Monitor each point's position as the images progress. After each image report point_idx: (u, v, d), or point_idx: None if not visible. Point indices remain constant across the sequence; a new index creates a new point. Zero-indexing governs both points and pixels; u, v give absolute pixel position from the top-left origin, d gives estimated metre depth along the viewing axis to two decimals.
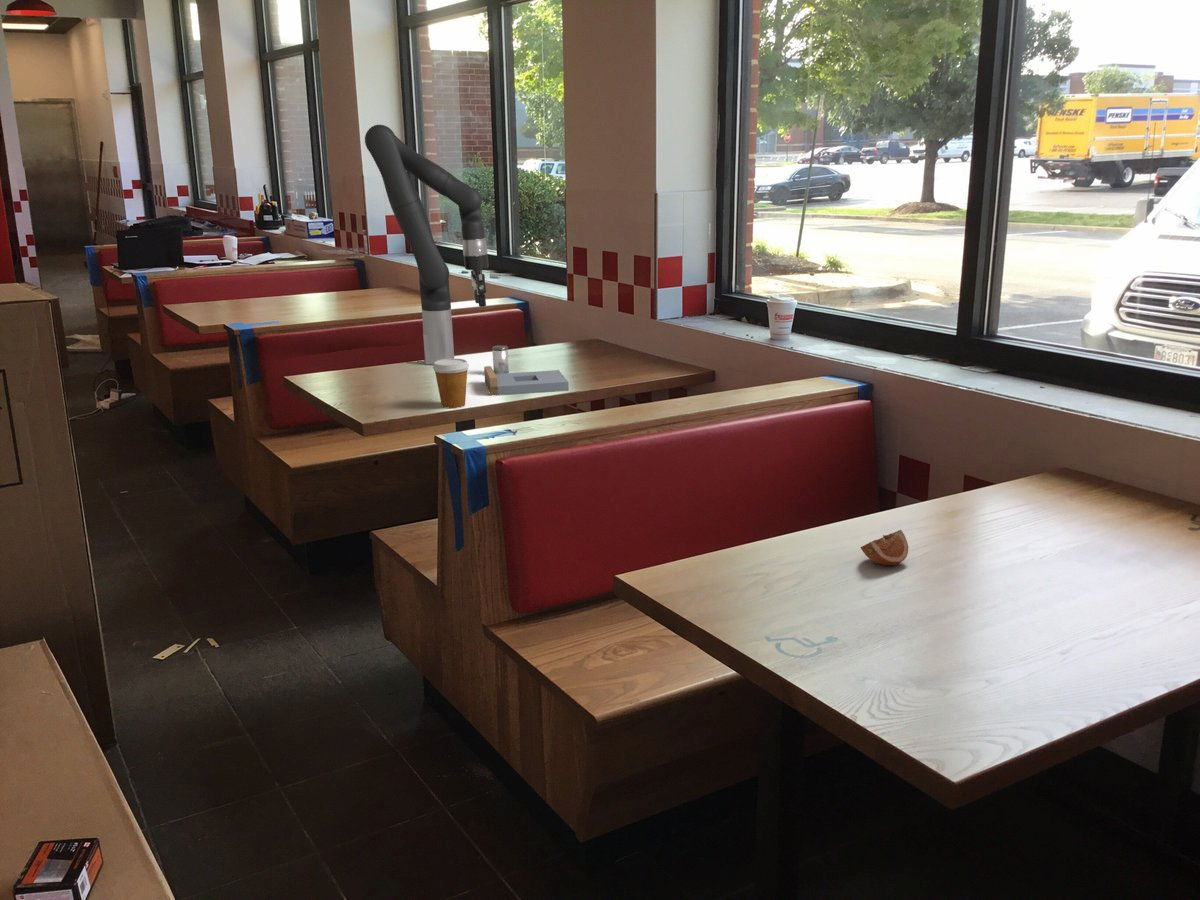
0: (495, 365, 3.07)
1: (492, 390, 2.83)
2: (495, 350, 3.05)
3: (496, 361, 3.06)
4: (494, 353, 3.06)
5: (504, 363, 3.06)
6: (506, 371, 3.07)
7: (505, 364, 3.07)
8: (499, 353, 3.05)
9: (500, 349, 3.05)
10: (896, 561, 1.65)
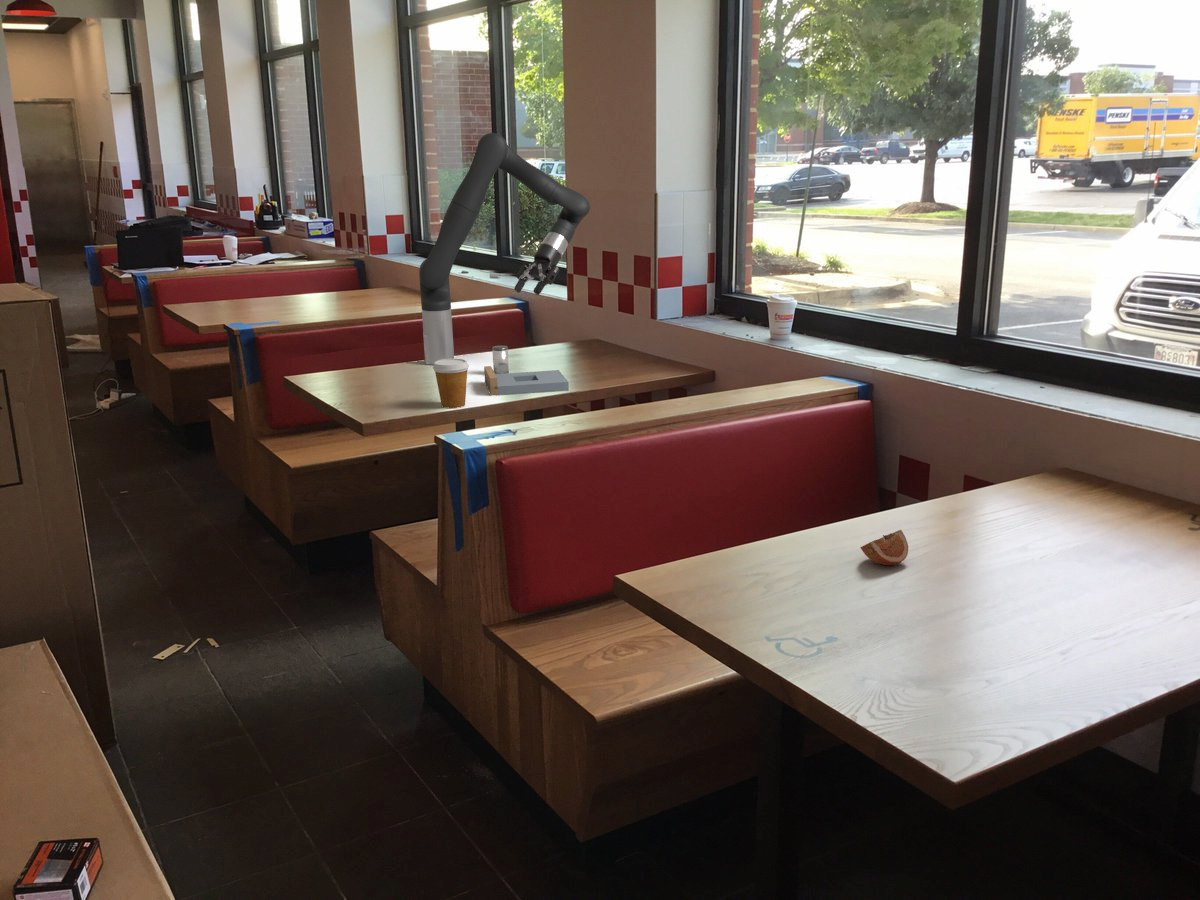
0: (495, 365, 3.07)
1: (492, 390, 2.83)
2: (495, 350, 3.05)
3: (496, 361, 3.06)
4: (494, 353, 3.06)
5: (504, 363, 3.06)
6: (506, 371, 3.07)
7: (505, 364, 3.07)
8: (499, 353, 3.05)
9: (500, 349, 3.05)
10: (896, 561, 1.65)
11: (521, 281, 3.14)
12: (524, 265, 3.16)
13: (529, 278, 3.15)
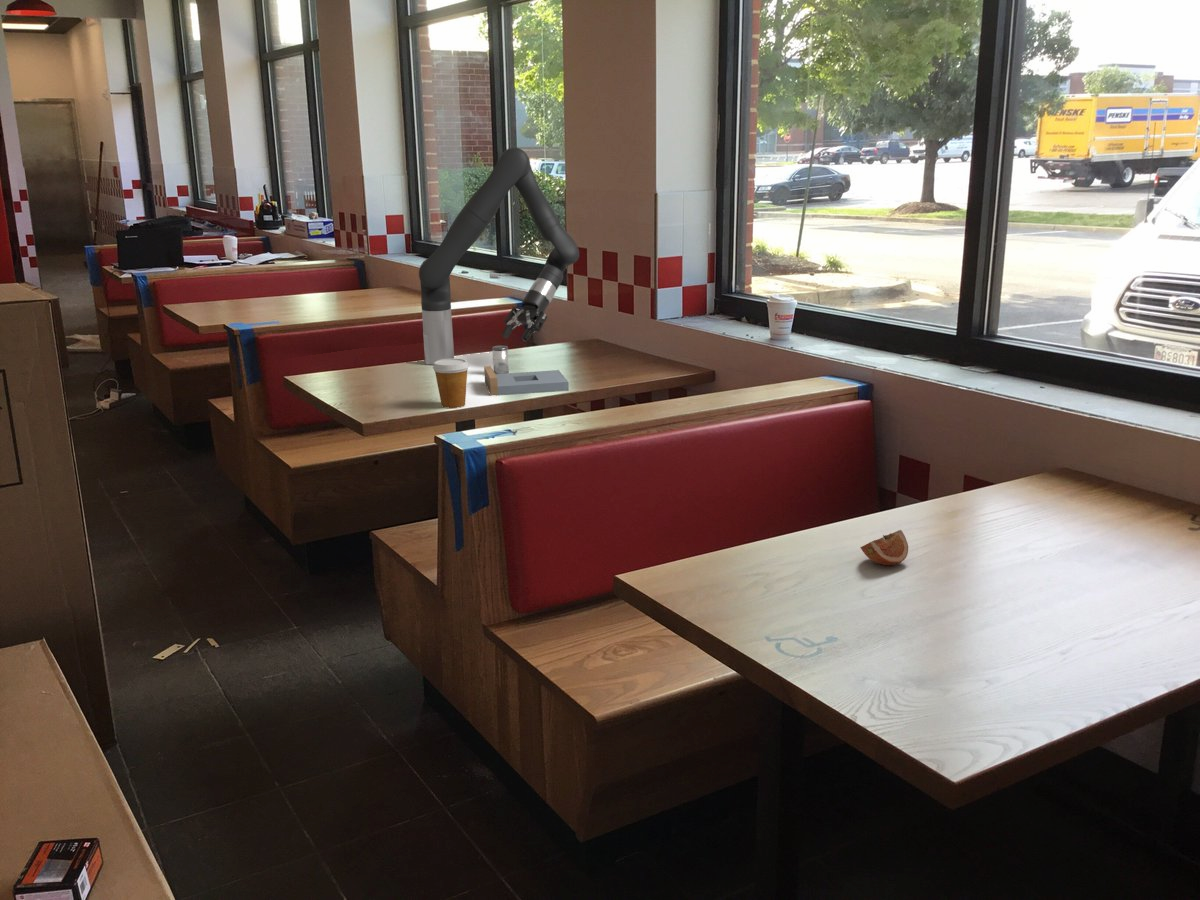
0: (495, 365, 3.07)
1: (492, 390, 2.83)
2: (495, 350, 3.05)
3: (496, 361, 3.06)
4: (494, 353, 3.06)
5: (504, 363, 3.06)
6: (506, 371, 3.07)
7: (505, 364, 3.07)
8: (499, 353, 3.05)
9: (500, 349, 3.05)
10: (896, 561, 1.65)
11: (509, 327, 3.13)
12: (512, 311, 3.16)
13: (517, 324, 3.14)
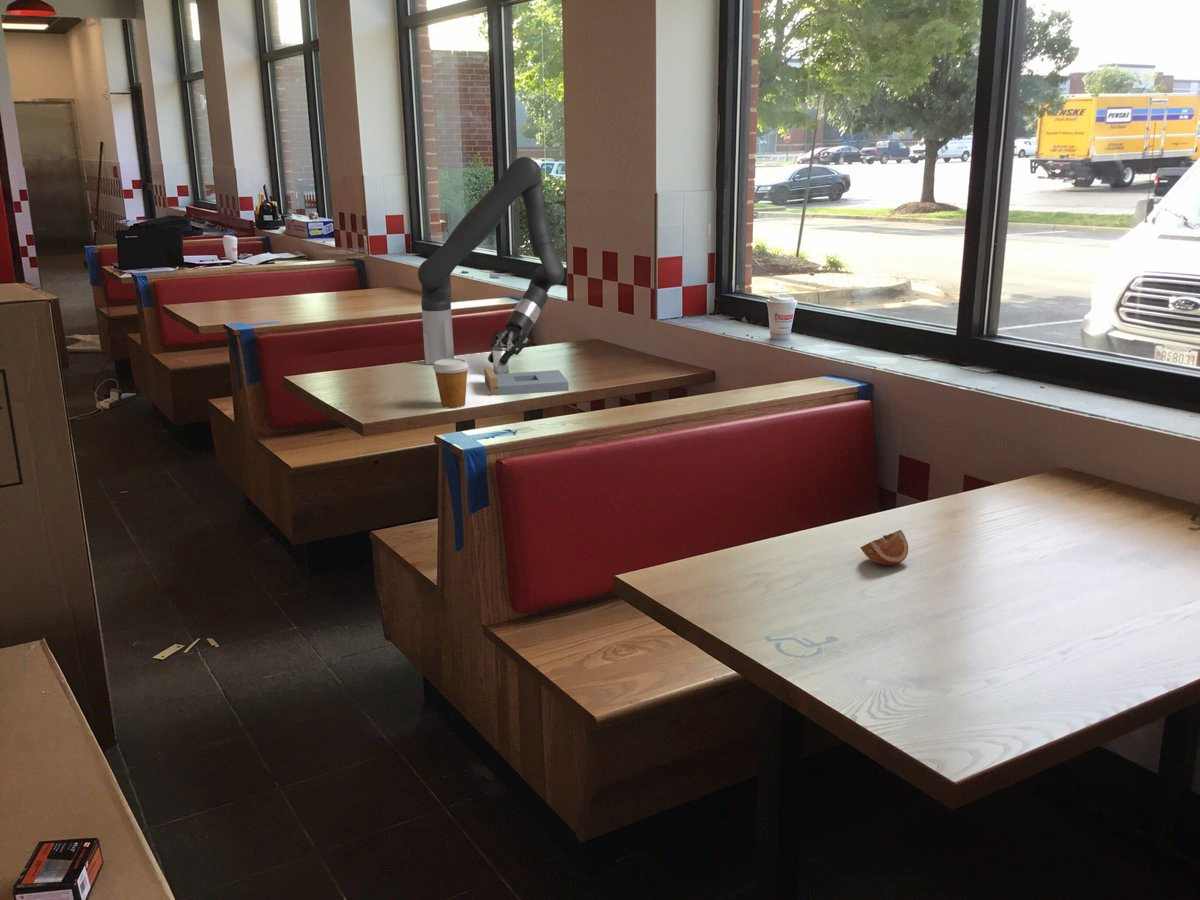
0: (495, 365, 3.07)
1: (492, 390, 2.83)
2: (495, 350, 3.05)
3: (496, 361, 3.06)
4: (494, 353, 3.06)
5: None
6: (506, 371, 3.07)
7: (505, 364, 3.07)
8: (499, 353, 3.05)
9: (500, 349, 3.05)
10: (896, 561, 1.65)
11: None
12: (495, 334, 3.12)
13: None
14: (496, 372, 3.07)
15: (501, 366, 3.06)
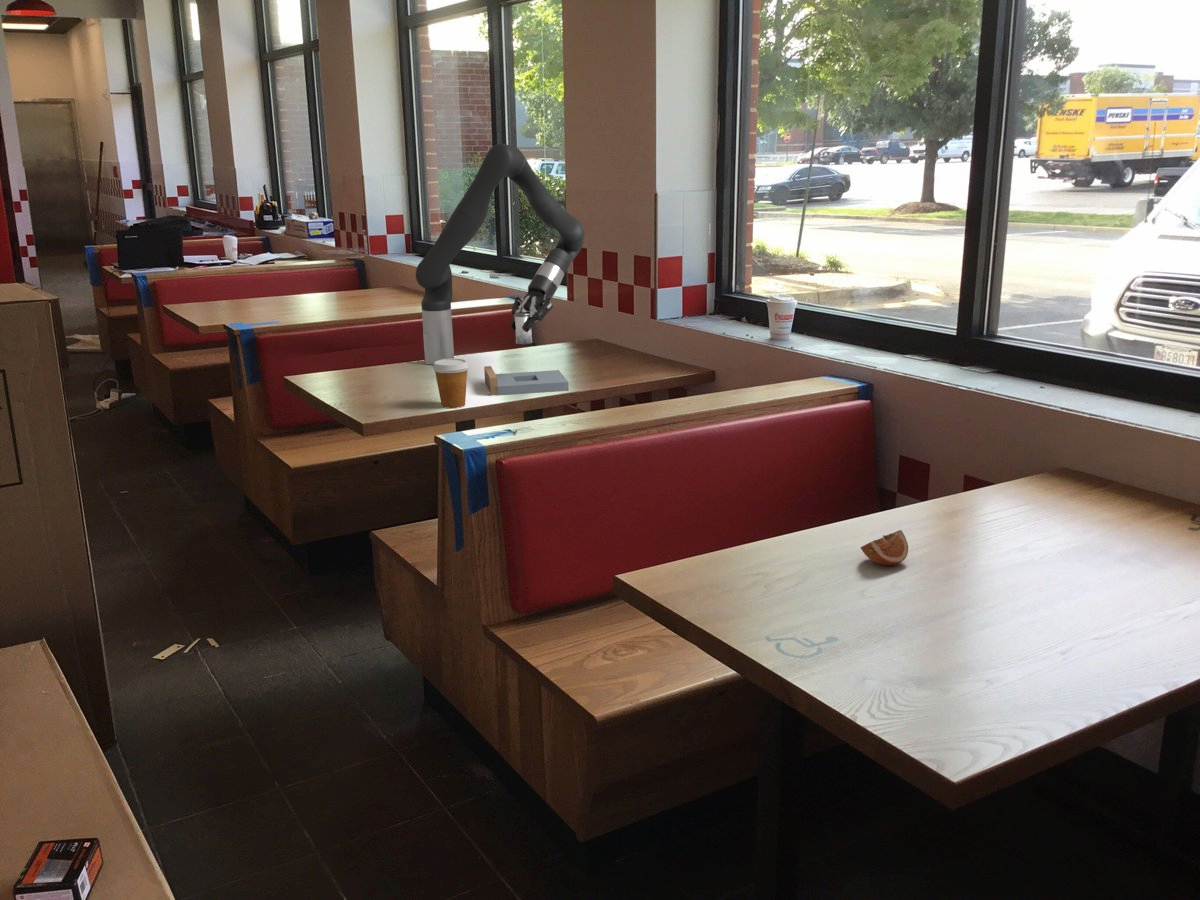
0: (518, 332, 2.89)
1: (492, 390, 2.83)
2: (517, 316, 2.88)
3: (519, 328, 2.89)
4: (516, 319, 2.89)
5: None
6: (529, 338, 2.90)
7: (528, 331, 2.90)
8: (522, 319, 2.88)
9: (523, 315, 2.88)
10: (896, 561, 1.65)
11: None
12: (516, 300, 2.95)
13: None
14: (519, 340, 2.90)
15: (524, 333, 2.89)
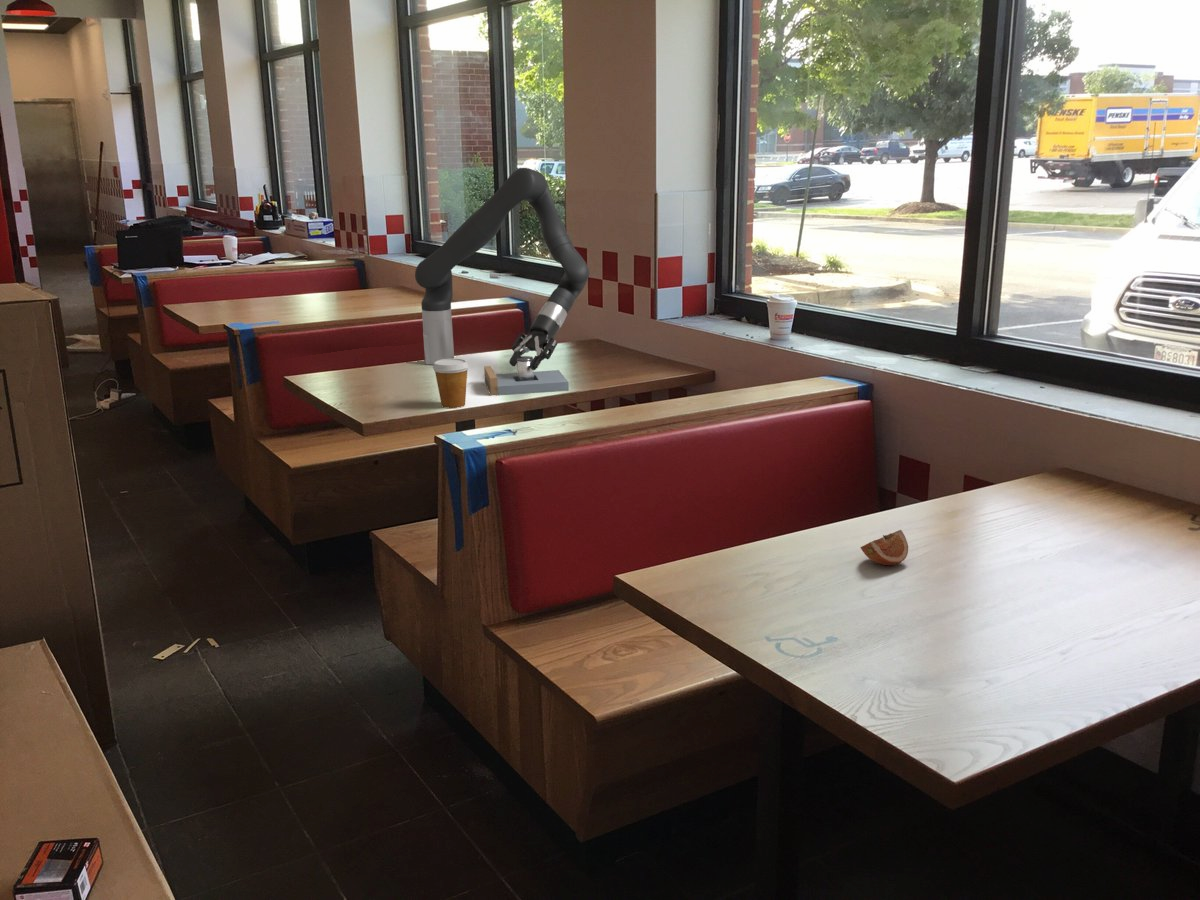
0: (520, 377, 2.91)
1: (492, 390, 2.83)
2: (520, 361, 2.89)
3: (521, 372, 2.90)
4: (519, 364, 2.90)
5: (529, 374, 2.90)
6: None
7: (530, 376, 2.91)
8: (524, 364, 2.89)
9: (525, 360, 2.89)
10: (896, 561, 1.65)
11: (516, 354, 2.94)
12: (520, 336, 2.96)
13: (525, 350, 2.95)
14: None
15: (526, 378, 2.90)
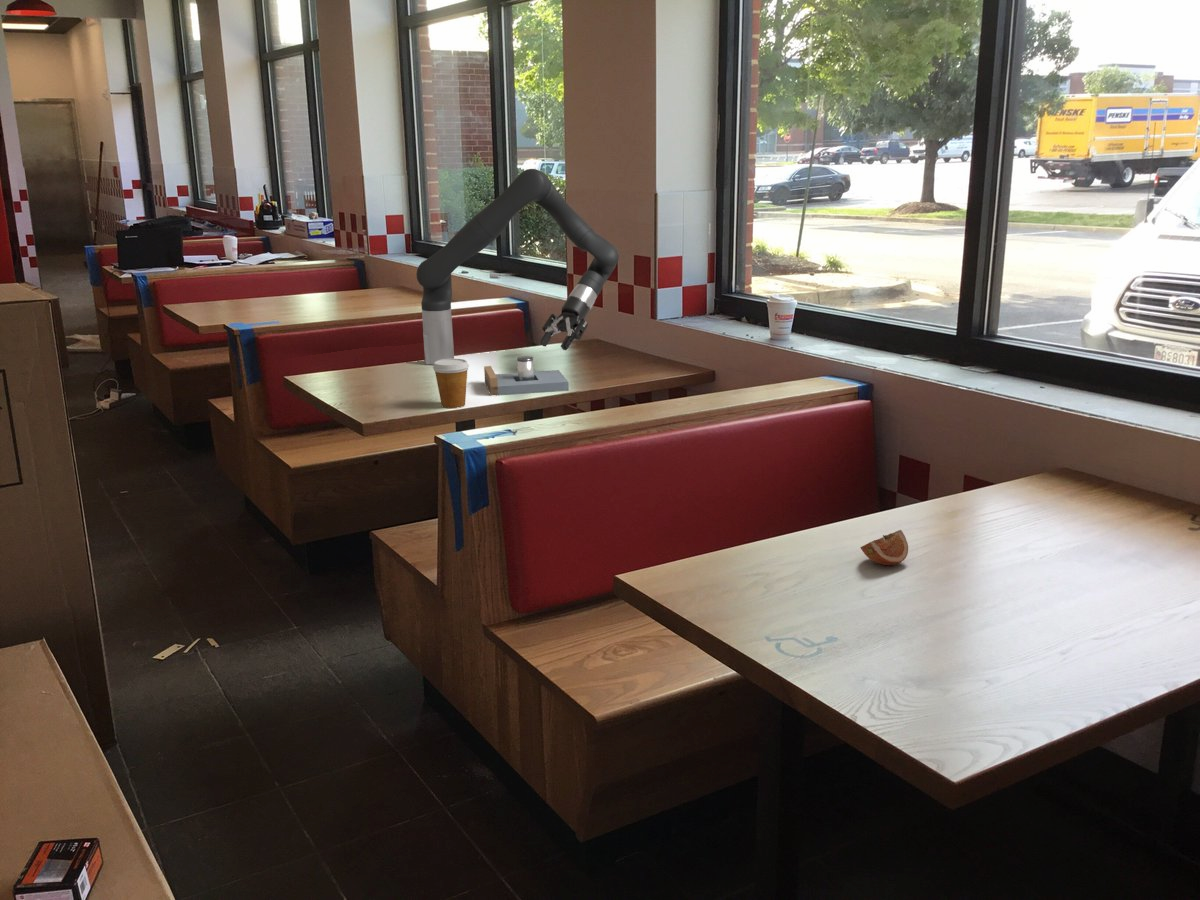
0: (520, 377, 2.91)
1: (492, 390, 2.83)
2: (520, 361, 2.89)
3: (521, 372, 2.90)
4: (519, 364, 2.90)
5: (529, 374, 2.90)
6: None
7: (530, 376, 2.91)
8: (524, 364, 2.89)
9: (525, 360, 2.89)
10: (896, 561, 1.65)
11: (547, 334, 3.02)
12: (551, 317, 3.04)
13: (556, 331, 3.03)
14: None
15: (526, 378, 2.90)
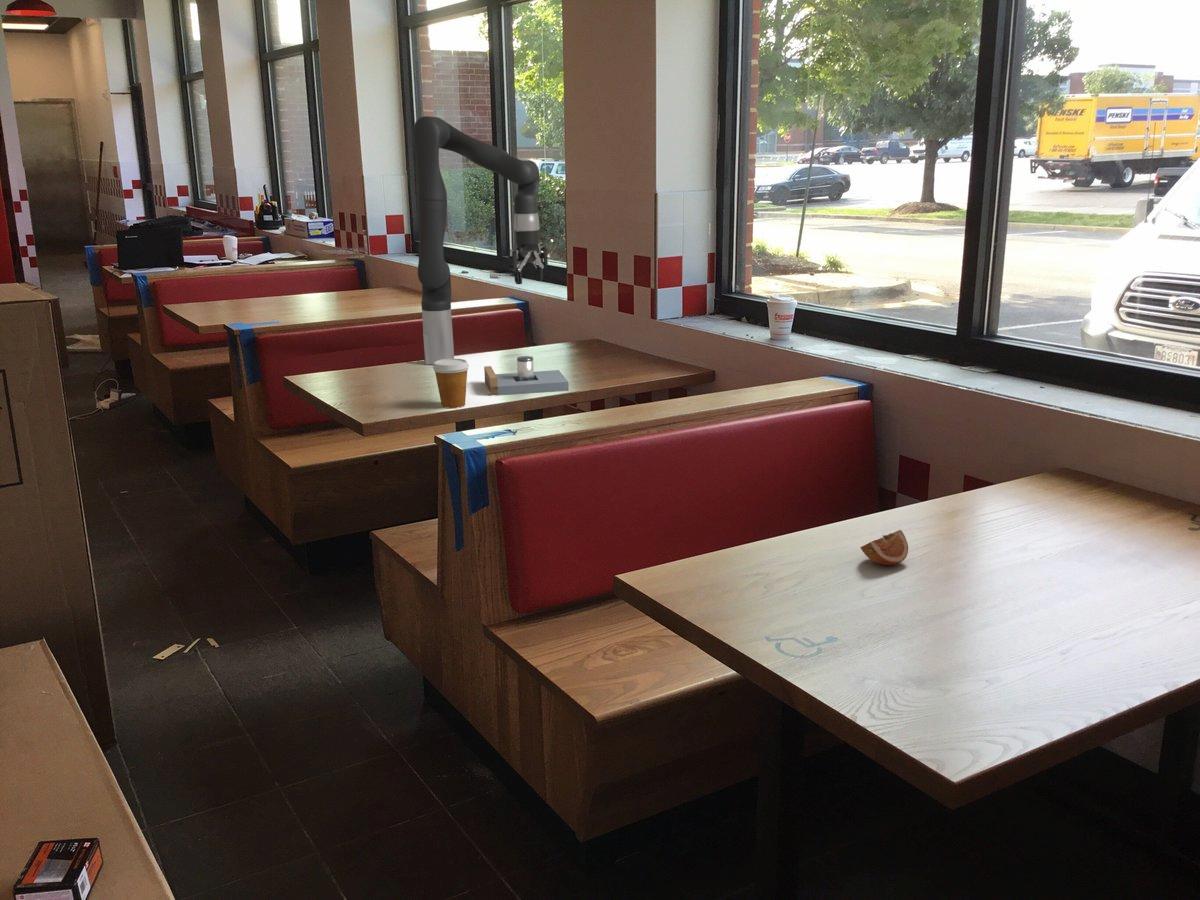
0: (520, 377, 2.91)
1: (492, 390, 2.83)
2: (520, 361, 2.89)
3: (521, 372, 2.90)
4: (519, 364, 2.90)
5: (529, 374, 2.90)
6: None
7: (530, 376, 2.91)
8: (524, 364, 2.89)
9: (525, 360, 2.89)
10: (896, 561, 1.65)
11: (536, 270, 3.15)
12: None
13: (537, 263, 3.13)
14: None
15: (526, 378, 2.90)
